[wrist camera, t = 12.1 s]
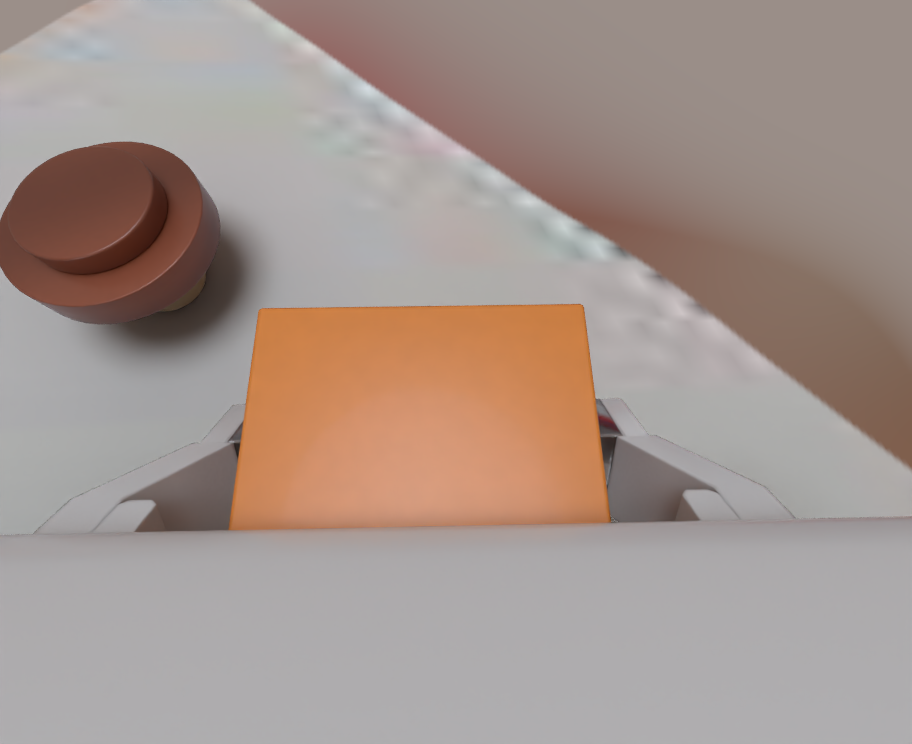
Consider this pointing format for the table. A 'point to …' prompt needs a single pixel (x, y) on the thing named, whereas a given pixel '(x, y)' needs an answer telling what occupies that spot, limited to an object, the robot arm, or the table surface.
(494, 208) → the table surface
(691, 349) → the table surface
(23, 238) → the wooden mushroom
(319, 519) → the juice carton
